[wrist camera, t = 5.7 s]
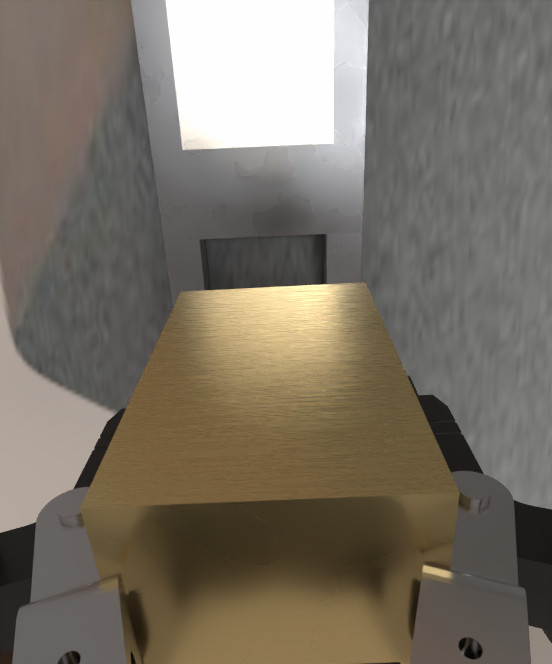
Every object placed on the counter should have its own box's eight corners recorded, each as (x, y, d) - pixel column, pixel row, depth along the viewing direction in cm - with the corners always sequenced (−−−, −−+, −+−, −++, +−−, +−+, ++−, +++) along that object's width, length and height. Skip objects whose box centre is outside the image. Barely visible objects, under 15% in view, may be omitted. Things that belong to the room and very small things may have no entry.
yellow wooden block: (180, 291, 14) (80, 508, 7) (365, 282, 14) (459, 492, 7) (201, 441, 16) (142, 726, 9) (362, 434, 16) (431, 717, 9)
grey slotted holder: (132, -60, 23) (119, -74, 21) (362, -71, 23) (371, -88, 21) (193, 407, 33) (188, 428, 31) (352, 401, 33) (358, 421, 31)
